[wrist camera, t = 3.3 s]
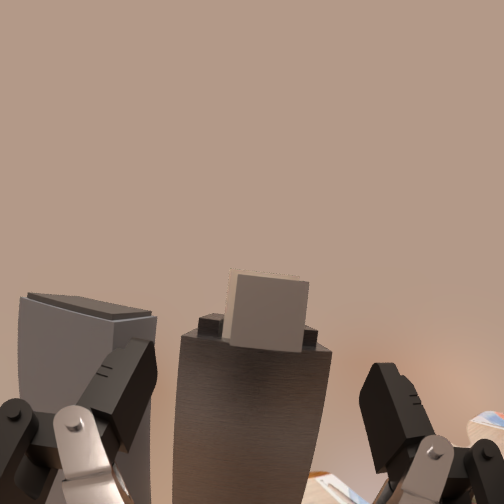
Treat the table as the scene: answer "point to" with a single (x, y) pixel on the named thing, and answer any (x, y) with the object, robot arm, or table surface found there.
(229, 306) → the plug
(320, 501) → the table surface
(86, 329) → the tall grey square pillar
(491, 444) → the robot arm
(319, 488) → the table surface
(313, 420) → the stand
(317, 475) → the table surface
